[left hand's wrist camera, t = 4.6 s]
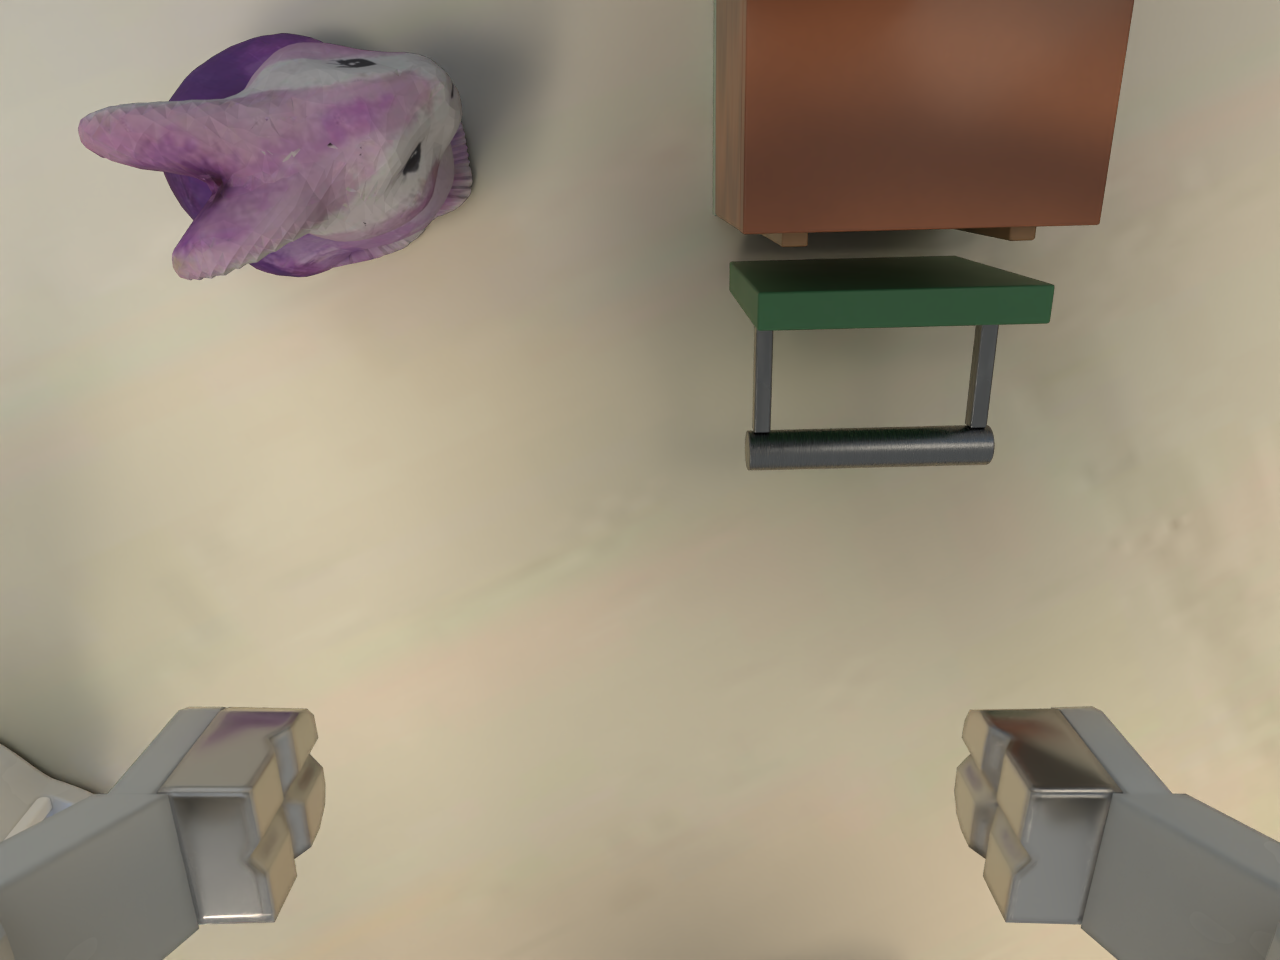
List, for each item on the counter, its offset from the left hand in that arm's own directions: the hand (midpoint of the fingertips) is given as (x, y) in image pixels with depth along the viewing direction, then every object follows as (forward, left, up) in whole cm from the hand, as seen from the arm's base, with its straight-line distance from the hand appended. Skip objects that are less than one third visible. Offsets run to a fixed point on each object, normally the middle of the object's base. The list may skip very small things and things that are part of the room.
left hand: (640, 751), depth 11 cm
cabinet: (+11, -9, -27) cm, 31 cm away
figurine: (+9, +10, -27) cm, 30 cm away
